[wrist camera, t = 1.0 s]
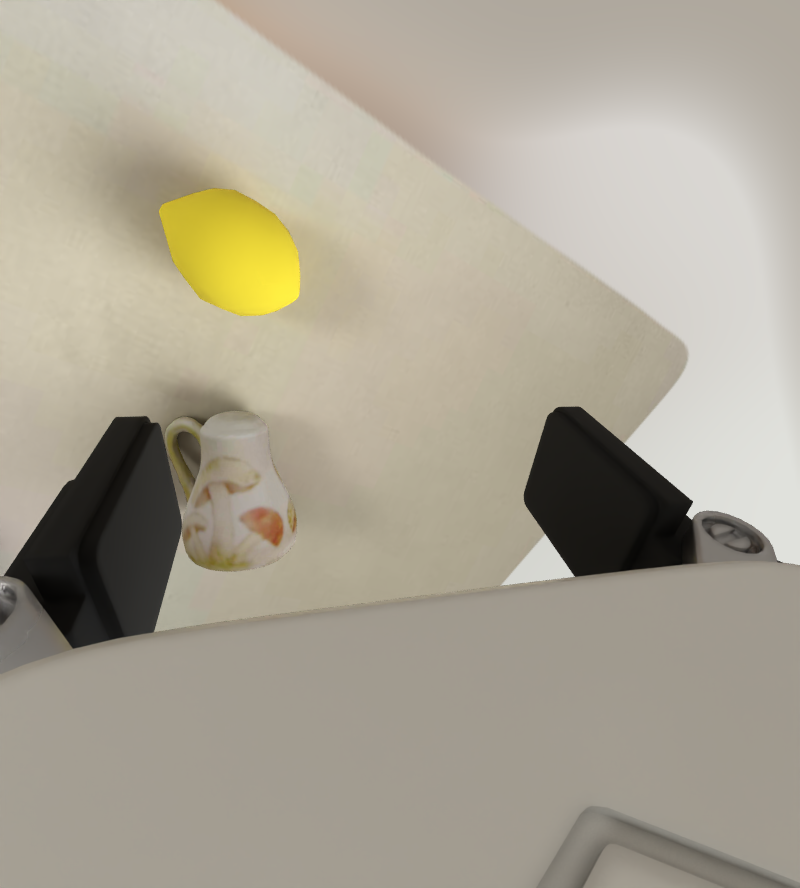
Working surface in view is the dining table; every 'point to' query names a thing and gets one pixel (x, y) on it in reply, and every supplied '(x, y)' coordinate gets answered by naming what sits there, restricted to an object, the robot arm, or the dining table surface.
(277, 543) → the mug
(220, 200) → the lemon
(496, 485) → the dining table surface
